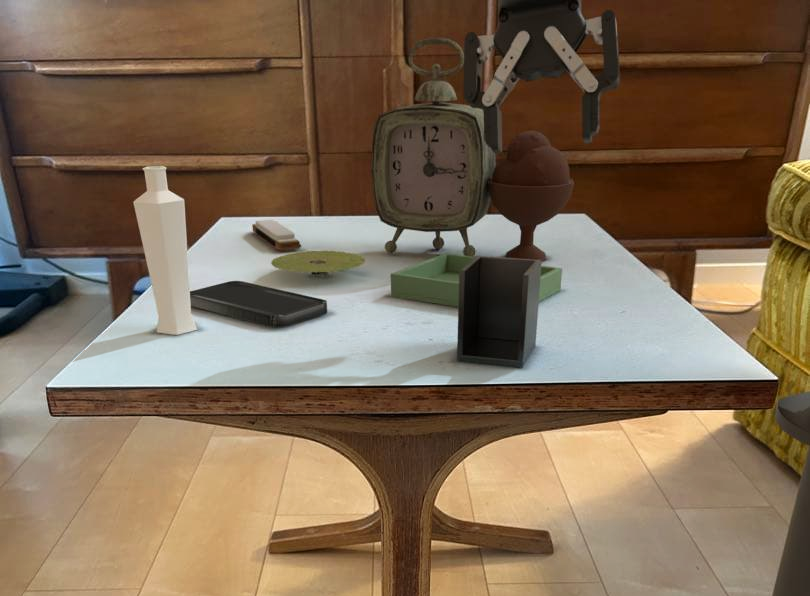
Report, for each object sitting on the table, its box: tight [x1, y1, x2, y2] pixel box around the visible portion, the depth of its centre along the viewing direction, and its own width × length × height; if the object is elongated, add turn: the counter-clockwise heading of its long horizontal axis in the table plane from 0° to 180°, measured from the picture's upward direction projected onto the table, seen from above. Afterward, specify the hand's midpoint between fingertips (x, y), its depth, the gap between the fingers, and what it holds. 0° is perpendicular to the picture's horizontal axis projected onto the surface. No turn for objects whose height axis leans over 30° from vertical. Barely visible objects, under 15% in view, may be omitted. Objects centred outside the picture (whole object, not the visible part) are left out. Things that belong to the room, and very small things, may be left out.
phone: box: [190, 280, 328, 328], centre depth 94 cm, size 8×1×15 cm
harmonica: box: [251, 219, 302, 251], centre depth 124 cm, size 15×3×2 cm, turn 23°
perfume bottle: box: [132, 165, 198, 336], centre depth 84 cm, size 5×4×15 cm
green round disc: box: [270, 250, 366, 278], centre depth 106 cm, size 11×11×2 cm
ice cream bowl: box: [488, 130, 575, 262], centre depth 111 cm, size 11×11×15 cm
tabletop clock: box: [370, 37, 497, 257], centre depth 112 cm, size 14×9×25 cm, turn 73°
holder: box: [456, 255, 543, 368], centre depth 78 cm, size 6×6×8 cm
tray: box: [390, 252, 563, 308], centre depth 99 cm, size 15×12×2 cm
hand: (541, 146), depth 83 cm, fingers open, 8 cm apart
